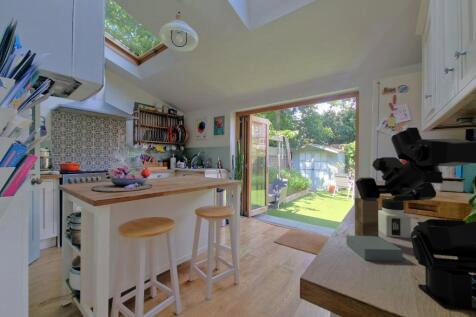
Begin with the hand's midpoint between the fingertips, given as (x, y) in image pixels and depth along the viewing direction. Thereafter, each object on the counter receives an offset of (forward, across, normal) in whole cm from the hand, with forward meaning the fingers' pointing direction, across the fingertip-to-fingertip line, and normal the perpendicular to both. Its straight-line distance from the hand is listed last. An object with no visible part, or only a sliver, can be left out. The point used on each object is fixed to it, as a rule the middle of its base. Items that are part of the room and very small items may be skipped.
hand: (378, 200), depth 64 cm
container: (+20, -13, +6) cm, 24 cm away
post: (+14, +1, +9) cm, 16 cm away
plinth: (+6, +4, +14) cm, 16 cm away
